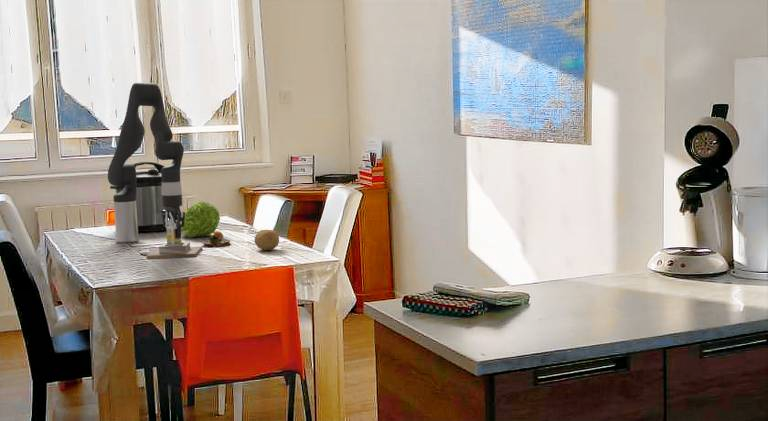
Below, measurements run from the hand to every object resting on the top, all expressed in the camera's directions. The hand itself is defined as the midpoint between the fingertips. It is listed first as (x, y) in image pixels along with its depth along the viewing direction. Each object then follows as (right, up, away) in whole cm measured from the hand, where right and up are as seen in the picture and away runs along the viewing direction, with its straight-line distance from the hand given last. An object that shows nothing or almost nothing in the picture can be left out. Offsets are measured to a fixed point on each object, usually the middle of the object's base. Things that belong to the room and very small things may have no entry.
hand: (174, 237), depth 345 cm
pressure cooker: (-30, +1, +77) cm, 82 cm away
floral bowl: (+12, -4, +21) cm, 25 cm away
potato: (+35, -5, +4) cm, 36 cm away
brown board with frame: (0, -6, +1) cm, 6 cm away
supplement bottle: (0, -3, 0) cm, 3 cm away
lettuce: (-1, -1, +50) cm, 50 cm away
